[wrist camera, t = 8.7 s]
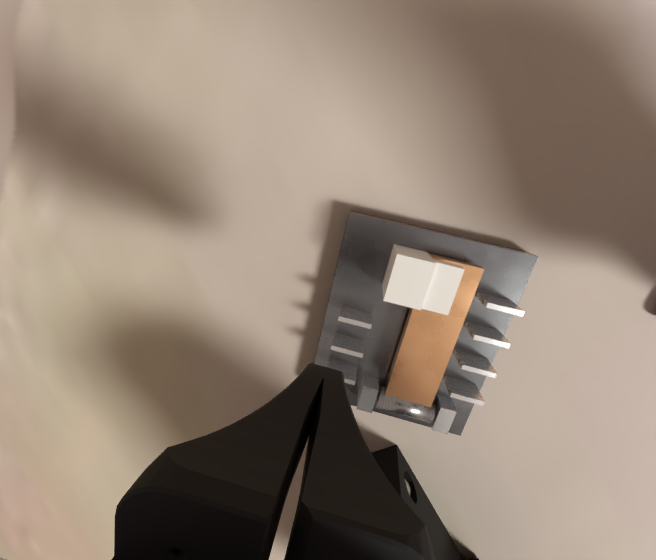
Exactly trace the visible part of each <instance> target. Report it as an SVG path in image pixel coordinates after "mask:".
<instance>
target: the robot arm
mask: <svg viewBox="0 0 656 560" xmlns="http://www.w3.org/2000/svg"><path fill="white" fill-rule="evenodd" d="M308 437H309V440H308ZM307 440H308V446H307V453H306V459H305V465H304V472H303V478H302V484H301V490H300V496H299V501H298V506H297V510H296V514H295V518H294V522H293V526H292V530H291V534H290V539H289V543H288V547H287V551H286V555H285V559H284V560H435V556H434V552H433V549H432V545H431V542H430V538H429V535H428V531H427V528H426V526H425V524H424V523H423V522H422V521H421V520H420V518H419V517H418V516H417V515H416V514H415V513H414V512H413V510H412V509H411V508H410V507H409V506H408V505H407V504H406V502H405V501H404V500H403V499H402V498H401V497H400V495H399V494H398V493H397V491H396V490H395V489H394V487H393V486H392V485H391V483H390V482H389V481H388V479H387V478H386V476H385V475H384V473H383V472H382V470H381V469H380V467H379V466H378V464H377V462H376V461H375V459H374V457H373V456H372V454H371V452H370V450H369V448H368V446H367V444H366V442H365V440H364V438H363V436H362V434H361V432H360V430H359V427H358V425H357V422H356V420H355V417H354V414H353V412H352V409H351V405H350V402H349V399H348V395H347V391H346V387H345V382H344V374H343V373H342V371H339V370H335V369H331V368H328V367H324V366H320V365H317V364H313V363H311V364H309V365H308V366H307V367H306V368H305V370H304V371H303V372H302V373H301V374H300V375H299V376H298V377H297V378H296V379H295V380H294V381H293V382H292V383H291V384H290V385H289V386H288V387H287V388H286V389H284V390H283V391H282V392H281V393H280V394H278V395H277V396H276V397H274V398H273V399H272V400H271V401H269V402H268V403H267V404H265V405H264V406H262V407H261V408H259V409H258V410H256V411H255V412H253V413H251V414H250V415H248V416H246V417H244V418H243V419H241V420H239V421H237V422H235V423H233V424H231V425H229V426H227V427H225V428H223V429H220V430H218V431H216V432H213V433H211V434H208V435H206V436H203V437H200V438H197V439H194V440H191V441H188V442H184V443H181V444H178V445H174V446H171V447H168V448H167V449H166V450H165V451H164V452H163V453H162V454H161V455H159V456H158V457H157V458H156V459H155V460H154V461H153V462H152V463H151V464H150V465H149V466H148V467H147V468H146V469H145V471H144V472H143V473H142V474H141V475H140V477H139V478H138V479H137V480H136V481H135V483H134V484H133V485H132V486H131V488H130V489H129V490H128V491H127V493H126V494H125V495H124V496H123V498H122V499H121V501H120V502H119V504H118V505H117V509H116V514H115V551H114V557H113V559H112V560H269V556H270V552H271V549H272V545H273V542H274V538H275V535H276V531H277V527H278V524H279V520H280V517H281V513H282V510H283V506H284V503H285V499H286V496H287V493H288V490H289V488H290V485H291V482H292V480H293V477H294V474H295V472H296V469H297V466H298V464H299V461H300V458H301V456H302V453H303V450H304V448H305V445H306V442H307ZM0 560H6V559H3V558H0Z"/></svg>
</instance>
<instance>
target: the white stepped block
mask: <svg viewBox="0 0 656 560" xmlns="http://www.w3.org/2000/svg"><path fill="white" fill-rule="evenodd" d="M464 270H465V269H464V268H463V267H462V266H460V265H456V264H452V263H448V262H444V261H440V260H436V259H432V257H431V256H430V255H429V254H428V253H427V252H425V251H421V250H417V249H413V248H409V247H404V246H400V245H396V244H394V245H393V248H392V252H391V255H390V259H389V262H388V266H387V269H386V273H385V276H384V280H383V283H382V289H383V301H386V302H390V303H394V304H398V305H402V306H406V307H410V308H413V309H417V310H421V309H425V310H429V311H433V312H437V313H441V314H444V315H448V314H449V311H450V309H451V306H452V303H453V300H454V298H455V295H456V292H457V289H458V287H459V284H460V281H461V278H462V276H463V273H464Z"/></svg>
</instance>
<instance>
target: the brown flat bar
mask: <svg viewBox="0 0 656 560" xmlns="http://www.w3.org/2000/svg"><path fill="white" fill-rule="evenodd" d="M428 254H429V255H430V256H431V257H432V259H436V260H440V261H444V262H448V263H452V264H456V265H460V266H462V267H463V268H464V269H465V270H464V273H463V276H462V278H461V281H460V284H459V287H458V289H457V292H456V295H455V298H454V300H453V303H452V306H451V309H450V311H449V314H448V315H444V314H441V313H437V312H433V311H429V310H425V309H421V310H417V309H413V308H410V310H409V313H408V316H407V319H406V323H405V326H404V329H403V332H402V335H401V338H400V341H399V344H398V347H397V350H396V353H395V357H394V360H393V363H392V366H391V369H390V372H389V375H388V378H387V381H386V384H385V387H382V386H380V387H379V391H378V394H377V397H376V402H375V407H376V408H379V409H382V410H386V411H389V412H393V413H396V414H400V415H404V416H407V417H411V418H414V419H418V420H421V421H425V422H429V423H431V422H432V421H433V419H434V416H435V410H436V406H435V402H434V398H435V396H436V393H437V390H438V388H439V385H440V383H441V380H442V377H443V375H444V372H445V370H446V367H447V365H448V362H449V359H450V357H451V354H452V352H453V349H454V346H455V344H456V341H457V339H458V336H459V333H460V331H461V328H462V326H463V323H464V321H465V318H466V315H467V313H468V310H469V308H470V305H471V302H472V300H473V297H474V295H475V292H476V290H477V287H478V284H479V282H480V279H481V277H482V274H483V271H484V268H482V267H481V266H480V265H476V264H471V263H467V262H463V261H459V260H455V259H451V258H446V257H442V256H438V255H434V254H430V253H428Z"/></svg>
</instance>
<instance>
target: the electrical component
mask: <svg viewBox="0 0 656 560" xmlns="http://www.w3.org/2000/svg"><path fill="white" fill-rule="evenodd" d="M371 454H372V456H373V457H374V459H375V461H376V462H377V464H378V466H379V467H380V469H381V470H382V472H383V473H384V475H385V476H386V478H387V479H388V481H389V482H390V483H391V485H392V486H393V487H394V489H395V490H396V491H397V493H398V494H399V495H400V497H401V498H402V499H403V500H404V501H405V502H406V504H407V505H408V506H409V507H410V508H411V509H412V510H413V512H414V513H415V514H416V515H417V516H418V517H419V518H420V520H421V521H422V522H423V523H424V524H425V526H426V528H427V531H428V535H429V538H430V542H431V545H432V549H433V552H434V556H435V560H464V559H463V557H462V556H461V554H460V552H459V550H458V549H457V547H456V545H455V544H454V542H453V540H452V538H451V537H450V535H449V533H448V532H447V530H446V528H445V526H444V525H443V523H442V521H441V520H440V518H439V516H438V514H437V513H436V511H435V509H434V508H433V506H432V504H431V502H430V501H429V499H428V497H427V496H426V494H425V492H424V491H423V489H422V487H421V485H420V484H419V482H418V480H417V479H416V477H415V475H414V473H413V472H412V470H411V468H410V467H409V465H408V463H407V461H406V460H405V458H404V456H403V455H402V453H401V451H400V449H399V448H398V446H397V445H394V446H391V447H388V448H385V449H382V450H379V451H376V452H373V453H371ZM472 560H479V559H478V558H477V559H472Z"/></svg>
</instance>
